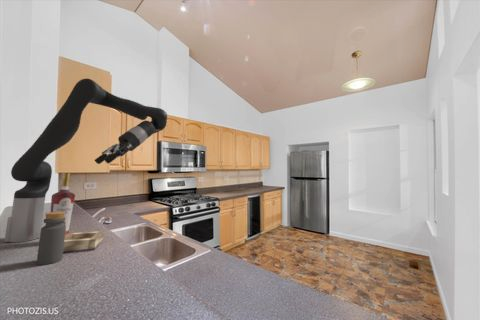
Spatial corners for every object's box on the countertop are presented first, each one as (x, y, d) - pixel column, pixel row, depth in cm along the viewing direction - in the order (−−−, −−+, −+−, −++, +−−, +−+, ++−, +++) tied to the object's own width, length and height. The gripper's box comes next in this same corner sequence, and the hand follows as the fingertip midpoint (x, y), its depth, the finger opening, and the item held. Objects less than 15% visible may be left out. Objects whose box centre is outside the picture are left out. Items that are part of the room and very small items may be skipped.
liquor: (48, 246, 74) (57, 172, 77) (43, 242, 78) (52, 172, 81) (72, 241, 80) (80, 173, 83) (66, 238, 84) (74, 173, 87)
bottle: (66, 259, 63) (71, 212, 65) (43, 266, 58) (50, 214, 59) (55, 256, 65) (60, 210, 67) (32, 263, 60) (38, 213, 61)
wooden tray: (52, 253, 67) (54, 242, 67) (67, 243, 78) (68, 233, 78) (94, 249, 72) (95, 239, 72) (102, 240, 83) (103, 231, 83)
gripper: (119, 132, 87) (86, 155, 76) (136, 128, 79) (102, 153, 68) (130, 146, 91) (100, 169, 80) (148, 143, 83) (116, 169, 72)
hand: (101, 162), depth 74 cm, fingers open, 8 cm apart
